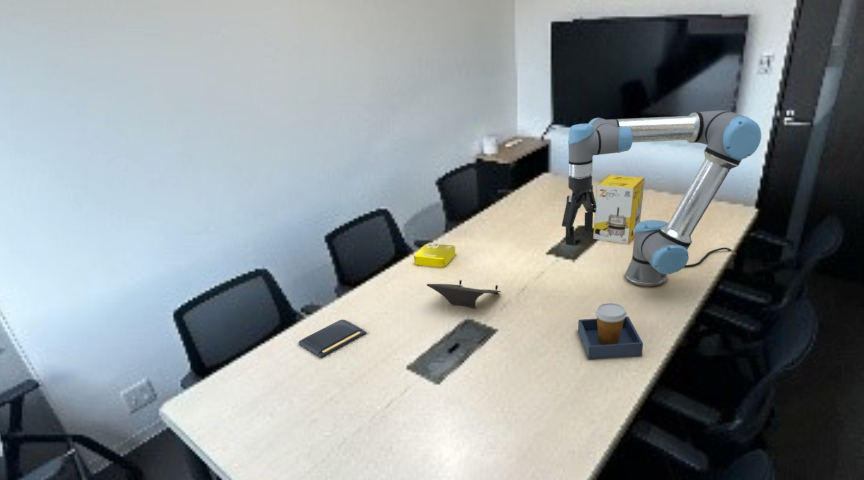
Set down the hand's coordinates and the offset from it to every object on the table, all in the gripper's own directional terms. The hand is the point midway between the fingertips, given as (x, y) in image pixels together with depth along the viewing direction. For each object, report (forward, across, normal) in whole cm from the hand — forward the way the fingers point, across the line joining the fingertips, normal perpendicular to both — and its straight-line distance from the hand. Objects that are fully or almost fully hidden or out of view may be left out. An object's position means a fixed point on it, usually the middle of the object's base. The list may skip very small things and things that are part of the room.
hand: (579, 237), depth 185 cm
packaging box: (+26, -66, -15) cm, 73 cm away
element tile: (+24, -4, -73) cm, 77 cm away
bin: (+27, +18, +20) cm, 38 cm away
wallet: (+24, +66, -62) cm, 93 cm away
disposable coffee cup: (+26, +18, +20) cm, 38 cm away
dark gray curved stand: (+25, +19, -37) cm, 48 cm away
